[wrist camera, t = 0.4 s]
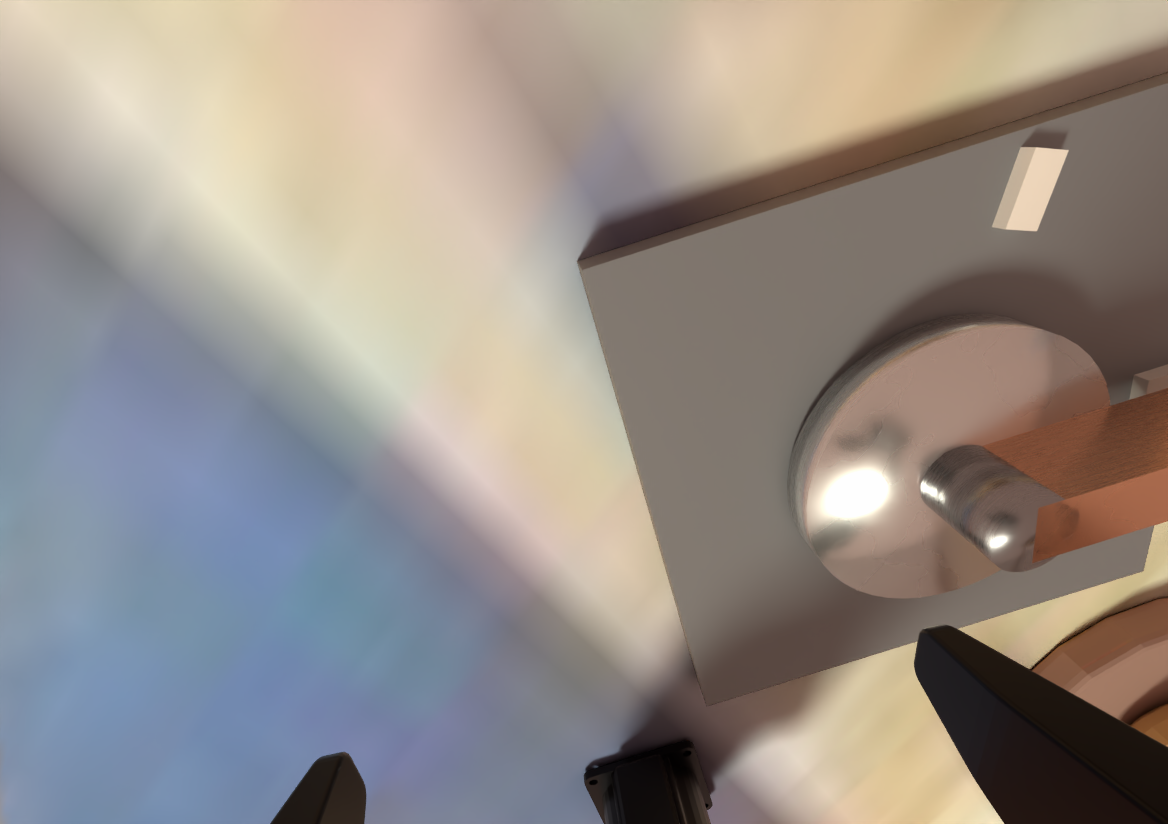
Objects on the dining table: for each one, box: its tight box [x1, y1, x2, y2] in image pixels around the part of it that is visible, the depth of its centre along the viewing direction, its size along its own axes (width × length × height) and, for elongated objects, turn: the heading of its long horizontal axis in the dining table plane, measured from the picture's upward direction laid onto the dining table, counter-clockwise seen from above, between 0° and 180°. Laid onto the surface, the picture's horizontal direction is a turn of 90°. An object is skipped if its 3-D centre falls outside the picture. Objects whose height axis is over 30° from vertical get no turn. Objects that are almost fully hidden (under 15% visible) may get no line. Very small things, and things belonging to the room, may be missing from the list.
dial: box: [787, 314, 1168, 599], centre depth 21 cm, size 17×12×5 cm
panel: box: [577, 73, 1168, 706], centre depth 24 cm, size 23×23×2 cm
